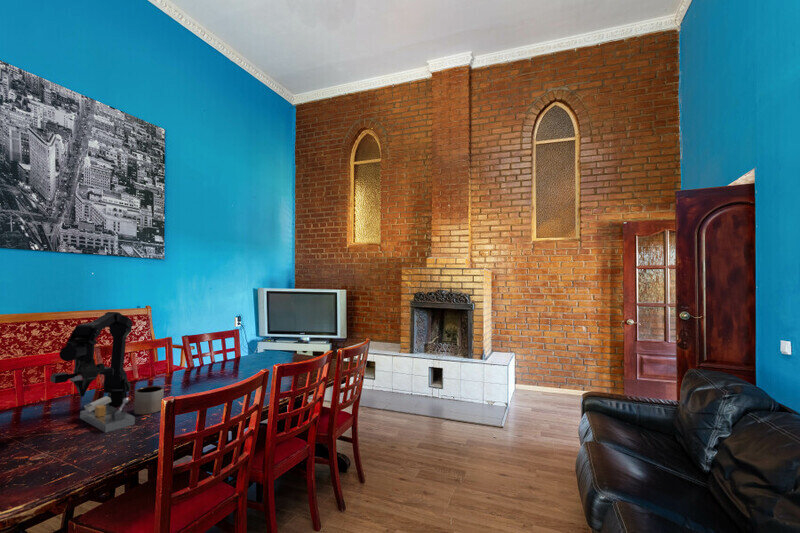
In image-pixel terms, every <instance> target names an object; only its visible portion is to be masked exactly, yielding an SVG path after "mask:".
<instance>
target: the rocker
mask: <svg viewBox="0 0 800 533" xmlns="http://www.w3.org/2000/svg"><path fill="white" fill-rule="evenodd" d="M107 396H108V395H106V396H103V397H101V398H98V399H96V400H94V401H91V402H90V403H88V404H86V405H84V410H87V411H89V412H90V411H92V410H95V407H96V406H100V405H105V406H106V404H107V403H110V402H112V401H111V398H110V397H107Z"/></svg>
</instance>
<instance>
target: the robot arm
mask: <svg viewBox="0 0 800 533" xmlns="http://www.w3.org/2000/svg"><path fill="white" fill-rule="evenodd" d="M133 323H134V322H133V320H131V319H130V318H129V316H125V315H123V314H122V313H121V312H118V311H107V312H105V313H104V314H103V315H102V316H100V317H98V318H96V319H94V320H92V321H91V322H86V323H85V322H84V323H80V324H78V325H76V326H75V327H74V328H73V330H72V332H71V334H70V335H69V338H68V340H67V342H66V345H65V346H63V347H62V348H61V349H60V351H59V358H60V359H61V360H62V361H64V362H74V369H73V373H67V372H56V373H52V374H51V375H50V379H49V382H51V383H54V384H61V383H67V382H68V381H69V382H71V383H73V384H74V386H75V389H76V390H77V392H78V394H79V397H80V398H84V396H85V394H86V392H87V390H88V389H89V386H90V384H92V382H93V381H95V380H97V379H98V376H99V375H103V376H104V377H103V384H102V385H103V390H104V394H105V393H106V394H107V395H106V396H107V397H110V398H111V401H112V402H110V403H107V404H105V406H106V405H110V406H112V407H114V408H117V407H121V405H122V403H123V399H124V398H127V393H128V392H130V390H131V387H132V384H131V383H130V381H129V380H128V374H127V372H126V371H125V369H124V367H125V365H124V364H125V357H126V356H125V355H126V341H127V337H128V336H129V334H130V333H131V332H132V328H133V325H134V324H133ZM107 327H108V328H109V334H110V335H111V337H112V345H111V346H112V349H111V357H110V359H111V360H110V366H106V365H105V364H104V363H97V364H96V359H95V347H96V346H95V345H96V344H98V341H97V340H96V339H97V338H98V337H99V336H100V335H101V332H102V331H103V330H104V329H106V328H107ZM127 405H129V402H127V403H126V404H125V405H124V406H127Z"/></svg>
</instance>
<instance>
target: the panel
mask: <svg viewBox="0 0 800 533" xmlns="http://www.w3.org/2000/svg"><path fill="white" fill-rule="evenodd" d="M103 406H106V413H105V416H101V417H97V416H95V410H92V411H90V412H89V411H87V410H85V409H84V410H81V411H79V412H80V415H79V420H82V421H84V422H86V423H88V424H89V425H91V426H93V427H94V428H96V429H99V430H100V431H101V432H104V433H108V432H113V431H116V430H120V429H124V428H126V427H131V426H134V425H135V424H136V422H135V421H136V417H135V416H134V415H133V414H132V415H131V414H130V413H127V412H126V411H123V410H121V412H120V413H118V414H115V416H114V413H116V412H117V411H118V410H119V408H117V407H112V406H110V405H106V404H105V405H103Z"/></svg>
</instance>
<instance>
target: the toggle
mask: <svg viewBox="0 0 800 533" xmlns="http://www.w3.org/2000/svg"><path fill="white" fill-rule="evenodd" d="M129 401H130V398H128V397H126V398H124V399H123V403H122V405H121V406H119V408H118V409H119V410H118V411H117V412H116V413H114V416H115V414H118V413H120V412H121V411H123V408H124V407H125V406H126V405H127V404H126V403H129ZM125 404H126V405H125Z"/></svg>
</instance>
